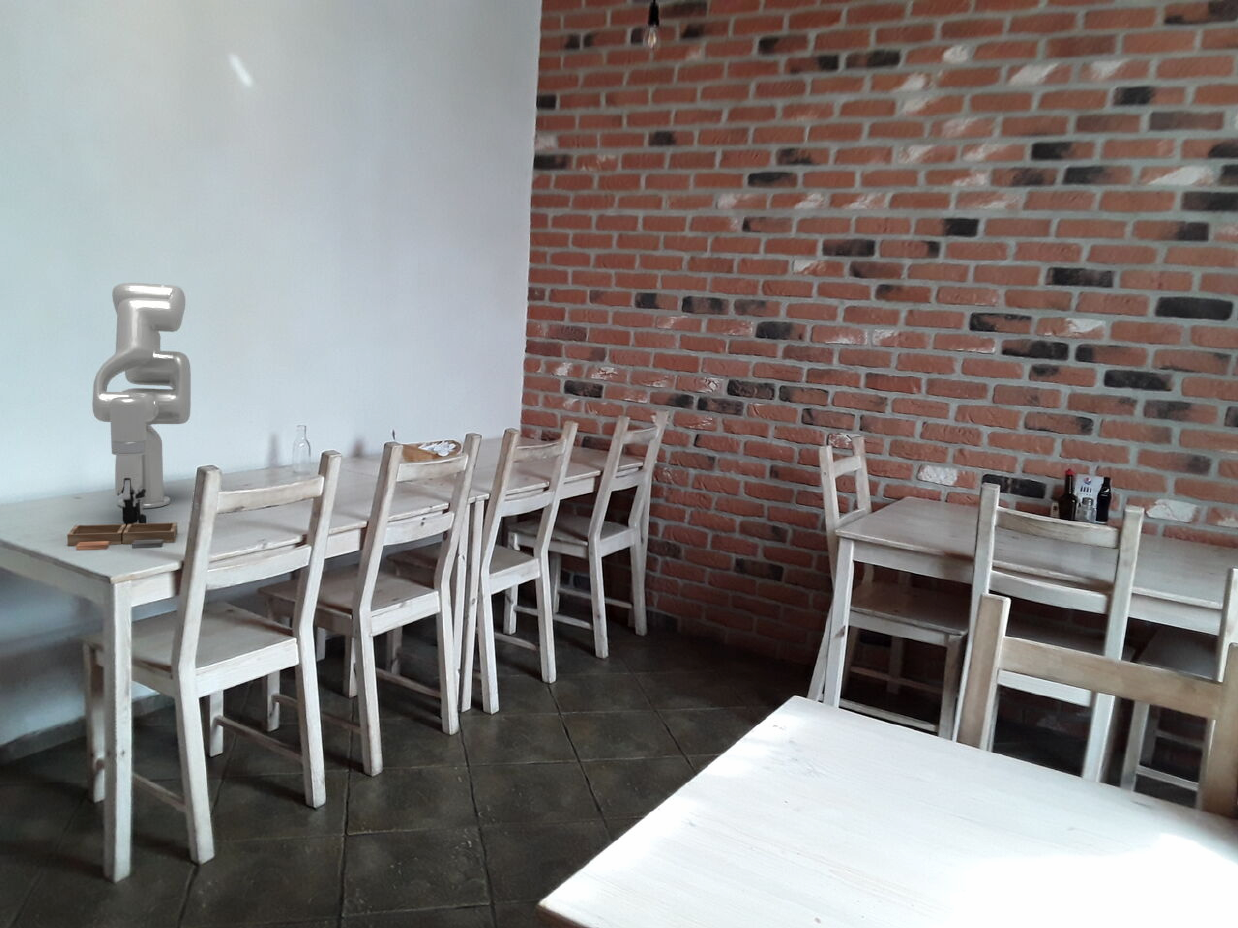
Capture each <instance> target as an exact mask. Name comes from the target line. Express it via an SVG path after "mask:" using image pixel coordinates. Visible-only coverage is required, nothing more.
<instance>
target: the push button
mask: <svg viewBox="0 0 1238 928" xmlns="http://www.w3.org/2000/svg"><path fill="white" fill-rule="evenodd" d="M133 491H134V490H133ZM145 492H146V490H145V489H142V486H141V487H140V491H139V493H138V494H137V495H136V506H137V509H138V521H137V522H136V523H124V522H123V520H120V521H116V524H121V523H122V524H126V526H127V525H128V524H141V523H148V522H147V515H145V513H144V511H143V508H142V498H143V497H145ZM121 494H122V495H123V491H122V492H121ZM130 494H134V493H133V492H130ZM131 498H132V499H133V497H131ZM138 500H139V503H138Z"/></svg>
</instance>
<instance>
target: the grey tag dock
mask: <svg viewBox="0 0 1238 928" xmlns="http://www.w3.org/2000/svg"><path fill="white" fill-rule="evenodd" d="M177 532H178V522H151V523H150V522H149V523H148V522H147V523H141V524H128V525H127V526H126V528H125V530H124V532H123V542H122V544H123V545H131V549H144V548H145V549H146V548H147V549H149V548H162V547H163V544H166V542H169V543H175V541H176V539H177V536H176V535H178V533H177Z"/></svg>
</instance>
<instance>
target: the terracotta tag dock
mask: <svg viewBox="0 0 1238 928" xmlns="http://www.w3.org/2000/svg"><path fill="white" fill-rule="evenodd" d="M125 528H126V524H123V523H112V524H110V523H108V524H80V525H79V524H76V525H74V526H73V527H72V528H71V530H70V531H69V532H68V533H67V534H66V535H67V537H66V538H67V547H75V548H76V549H75V550H76V551H89V550H90V551H92V550H94V551H95V550H107V549H108V548H109V546H110V545H122V544H123V532H124V530H125Z"/></svg>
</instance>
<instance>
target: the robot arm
mask: <svg viewBox="0 0 1238 928" xmlns="http://www.w3.org/2000/svg"><path fill="white" fill-rule="evenodd" d="M112 302H113V307H114V309H115V312H116V317H117V318H116V335H115V337H116V338H115V352H114V353H113V355H112V356H111V357H110V358H108V359H107V360H106V361H105V362H104V363H103V364H102V366H101V367H99V370H98V371H97V372H96V375H95V376H94V381H93V387H92V388H93V389H92V402H91V403H92V405H91V406H92V413H93V415H94V417H95V418H96V420H97V421H99V422H104V423H110V441H111V442H110V443H111V448H110V449H111V454H112V455H114V456H115V469H114V470H115V471H114V472H115V473H114V474H115V476H114V477H115V478H114V479H115V481H114V482H115V483H114V485H115V487H114V489H115V491H114V493H115V495H116V496H119V495H121V494H122V493H121V492H122V491H123V494H122V497H121V498H119V499H118V500H117V506H119V507H122V508H121V509H122V512H121V513H122V521H123V522H124V523H136V522H137V521H138V509H137V506H136V495H137V494H138V493H139V491H140V487H141V486H142V489H145V490H146V492H145V497H143V498H142V509H152V508H154V509H155V508H160V507H164V506H167V505H169V504H170V503H171V498H170V497H169V496H166V495H164V494H165V493H164V466H163V465H164V464H163V441H162V437H161V436H160V434H159V433H158V432H157V431H156V430H155V428H153V426H152V425H182V424H185V423H187V422H188V421H189V419H190V417H191V405H192V402H191V401H192V400H191V395H192V394H191V389H192V388H191V386H192V385H191V380H192V377H191V376H192V375H191V363H190V360H189V357H188V356H187V354H185V353H184V352H181V351H174V350H161V333H160V332H168V333H175V332H177V331H178V330H179V329H180V328H181V325H182V321H183V317H184V313H185V309H186V296H185V293H184V291H183V289H182V288H181V287H179V286H177V285H173V284H156V283H143V282H142V283H141V282H125V283H124V282H123V283H120V284H117V285H115V286H114V287H113V289H112ZM122 373H124V376H125V379H126V381H127V382H128V383H130V384H133V385H138V386H155V387H156V386H159V387H160V386H163V387H170V388H149V387H147V388H145V387H142V388H141V387H138V388H137V387H135V388H128V389H125V390H122V391H108V386H109V384H110V382H111V381H112V380H113V379H114V378H115V377H116V376H118V375H119V374H122ZM133 490H134V491H133ZM130 492H133V493H134V494H130ZM131 497H133V499H132V498H131ZM138 503H139V500H138ZM123 522H122V523H123Z"/></svg>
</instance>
